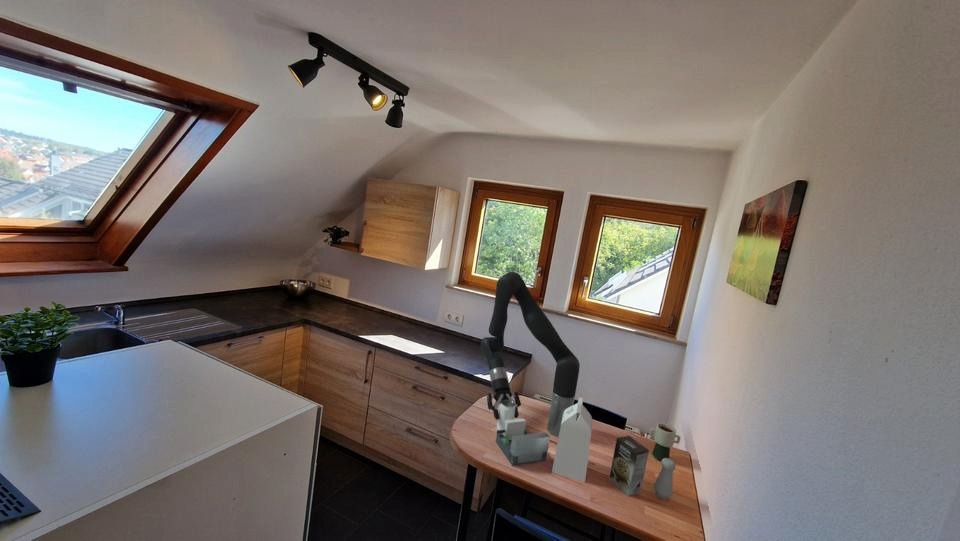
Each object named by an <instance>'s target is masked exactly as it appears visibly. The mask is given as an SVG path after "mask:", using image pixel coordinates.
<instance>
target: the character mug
mask: <svg viewBox="0 0 960 541" xmlns="http://www.w3.org/2000/svg"><path fill="white" fill-rule="evenodd" d="M653 432H654V433H653ZM676 433H677V429H676V428H675V427H673V425H672V426H671V425H670V424H668V423H664V422H659V423H657V424H656V426H655V428H654V427H653V428H652V427H651V428H650V429H649V436H651V437H653V438H654V441H655V444H654V447H653V449H652V455H653V457H654V458H655V459H657V460H659V461H662V459H664V458H668V459H670V455H671V448H672V447H673V446H674V444H680V441H681V436H680V435H678V434H676ZM675 438H677V439H675Z"/></svg>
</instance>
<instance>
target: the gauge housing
mask: <svg viewBox="0 0 960 541" xmlns="http://www.w3.org/2000/svg"><path fill="white" fill-rule="evenodd" d="M550 437H551V436H550V435H549V433H547V432H546V431H545V432H538V433H537V432H535V433H532V431H531V430H529V428H525V430H524V435H518V436H512V440H509V441H508V440H507V439H506V438H505V436H504V435H503V433H498V434H497V433H496V436H495V443H496V444H497V446H498V447H499V449H500V450H501V451H502V454H504V456H505V458H506V459H507V460H508V462H509V463H510V465H511V466H512V467H514V466H515V467H516V465H517V466H522V465H528V464H534V463H536V464H537V463H541V462H546V461H547V457H548V451H549V445H550V439H551V438H550Z"/></svg>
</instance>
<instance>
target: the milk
mask: <svg viewBox="0 0 960 541" xmlns="http://www.w3.org/2000/svg"><path fill="white" fill-rule="evenodd" d="M583 399H584V398H583V397H578V401H577V403H575V404H574V405H573V406H571V407H569V408H567V409H565V410H564V413H563V417H562V422H561V427H560V433H559V436H558V437H557V438H558V439H557V442H556V443H557V444H556V448H555V454H554V459H553V464H552V469H551V473H552V474H556V475H559V476H563V477H566V478H570V479H573V480H577V481H579V482H582V483H585V482H586V477H587V469H588V462H589V454H590V447H591V446H590V445H591V439H592V428H593V417H592V415H591V414H590V412H589V411H588V410H587V408H586V407H585V406H584V405H583V401H584V400H583Z"/></svg>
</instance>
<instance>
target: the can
mask: <svg viewBox="0 0 960 541" xmlns="http://www.w3.org/2000/svg"><path fill="white" fill-rule="evenodd" d="M514 402H515V401H514ZM514 402H513V401H510V400H503V401H501V404H499V406H498V407H499V408H498V413H499V419H498V420H497V422H496V431H497V430H504V427H505V420H512V419H515V418H514V414H515V403H514ZM502 434H504V433H502Z"/></svg>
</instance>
